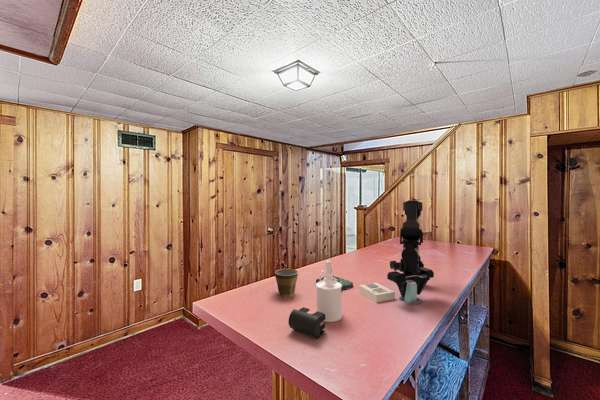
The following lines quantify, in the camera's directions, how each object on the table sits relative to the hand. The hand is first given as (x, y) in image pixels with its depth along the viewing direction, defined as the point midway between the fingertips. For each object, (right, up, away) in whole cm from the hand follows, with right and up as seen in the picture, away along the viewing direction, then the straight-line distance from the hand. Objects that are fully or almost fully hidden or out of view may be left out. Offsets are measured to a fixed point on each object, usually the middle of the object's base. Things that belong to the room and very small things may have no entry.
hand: (410, 296), depth 109 cm
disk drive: (-28, -3, +21) cm, 35 cm away
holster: (0, -3, 0) cm, 3 cm away
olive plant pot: (-51, -3, +11) cm, 52 cm away
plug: (0, -2, 0) cm, 2 cm away
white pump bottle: (-33, -4, -10) cm, 35 cm away
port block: (-12, -3, +6) cm, 14 cm away
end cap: (-42, -4, -22) cm, 47 cm away
